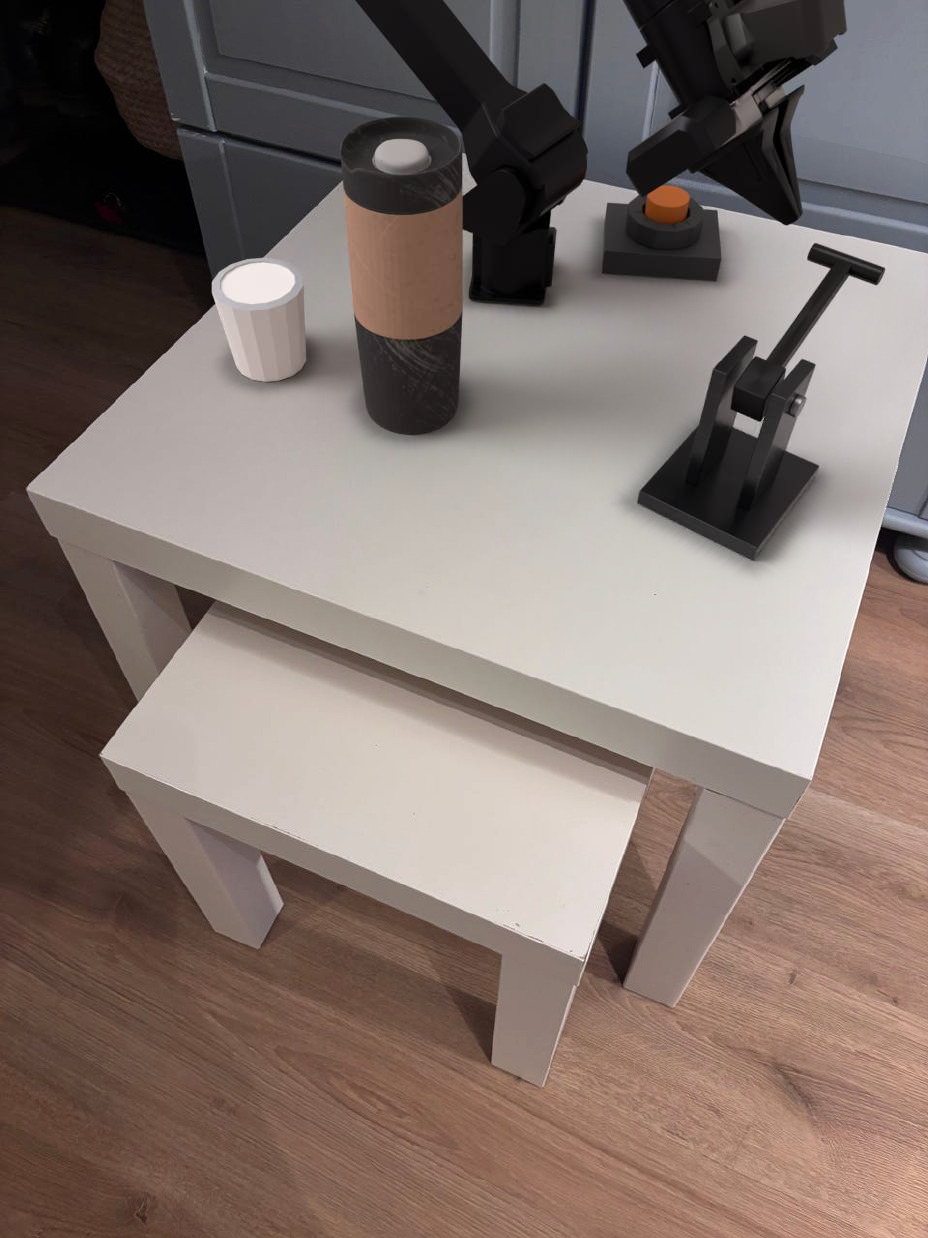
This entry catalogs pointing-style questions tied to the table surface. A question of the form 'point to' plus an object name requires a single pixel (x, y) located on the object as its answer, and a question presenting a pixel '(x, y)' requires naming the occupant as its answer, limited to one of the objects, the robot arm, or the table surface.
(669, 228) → the control block
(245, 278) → the shot glass
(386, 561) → the table surface
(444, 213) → the travel mug
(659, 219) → the power button
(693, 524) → the switch bracket
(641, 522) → the table surface
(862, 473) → the table surface
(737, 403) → the switch lever
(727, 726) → the table surface
